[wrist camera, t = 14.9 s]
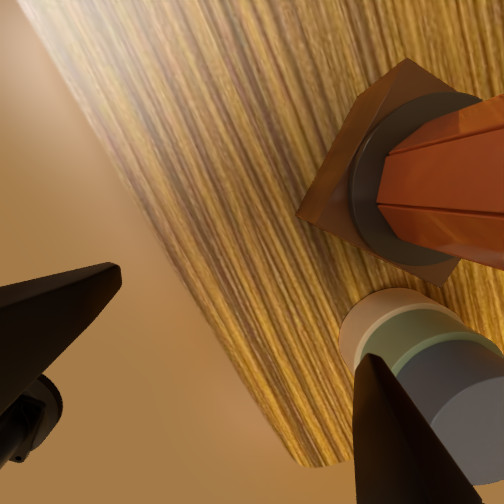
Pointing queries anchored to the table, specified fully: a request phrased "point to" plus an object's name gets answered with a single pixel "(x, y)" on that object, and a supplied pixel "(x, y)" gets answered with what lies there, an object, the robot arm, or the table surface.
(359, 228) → the coaster stand
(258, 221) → the table surface
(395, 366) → the disc stack
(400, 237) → the terracotta octagonal pot
